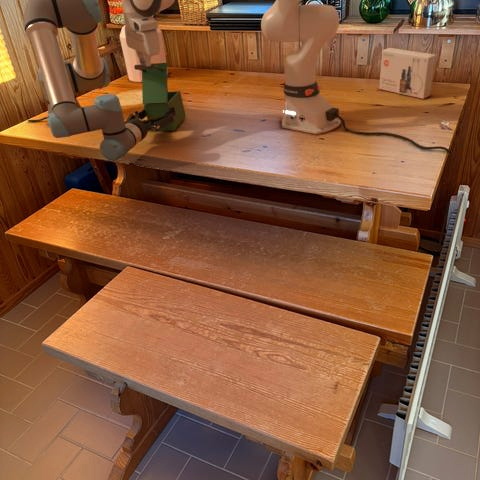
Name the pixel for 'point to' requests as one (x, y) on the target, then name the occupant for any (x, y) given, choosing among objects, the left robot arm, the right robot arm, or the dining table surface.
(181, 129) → the dining table surface
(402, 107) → the dining table surface
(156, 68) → the lid
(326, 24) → the right robot arm
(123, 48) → the container
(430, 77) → the skincare box
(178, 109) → the chest
